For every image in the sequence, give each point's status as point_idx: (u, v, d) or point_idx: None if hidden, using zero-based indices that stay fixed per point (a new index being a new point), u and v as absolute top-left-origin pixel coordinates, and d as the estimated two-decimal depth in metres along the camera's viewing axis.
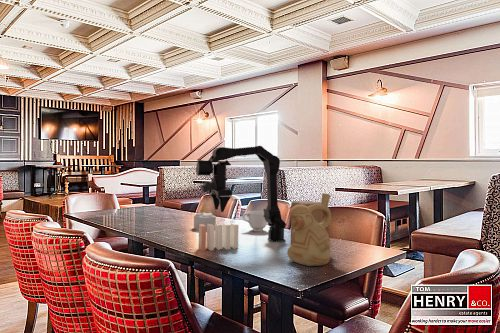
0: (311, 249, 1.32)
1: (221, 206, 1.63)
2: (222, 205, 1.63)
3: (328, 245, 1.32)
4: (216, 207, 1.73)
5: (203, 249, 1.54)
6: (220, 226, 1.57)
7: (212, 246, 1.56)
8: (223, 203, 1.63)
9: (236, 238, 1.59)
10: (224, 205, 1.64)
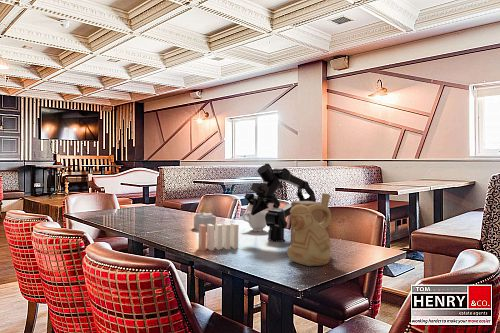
0: (311, 249, 1.32)
1: (255, 209, 1.68)
2: (256, 209, 1.68)
3: (328, 245, 1.32)
4: None
5: (203, 249, 1.54)
6: (220, 226, 1.57)
7: (212, 246, 1.56)
8: (258, 208, 1.69)
9: (236, 238, 1.59)
10: (258, 211, 1.69)
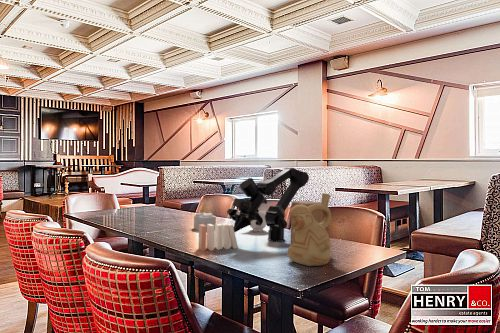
0: (311, 249, 1.32)
1: (237, 226, 1.61)
2: (238, 226, 1.61)
3: (328, 245, 1.32)
4: None
5: (203, 249, 1.54)
6: (220, 226, 1.57)
7: (212, 246, 1.56)
8: (241, 225, 1.62)
9: (234, 238, 1.59)
10: (240, 227, 1.62)
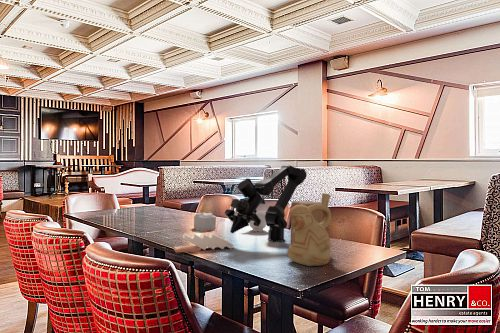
0: (311, 249, 1.32)
1: (235, 227, 1.60)
2: (236, 227, 1.61)
3: (328, 245, 1.32)
4: None
5: (199, 250, 1.54)
6: (195, 237, 1.54)
7: (203, 246, 1.55)
8: (238, 226, 1.61)
9: (224, 242, 1.58)
10: (238, 228, 1.61)
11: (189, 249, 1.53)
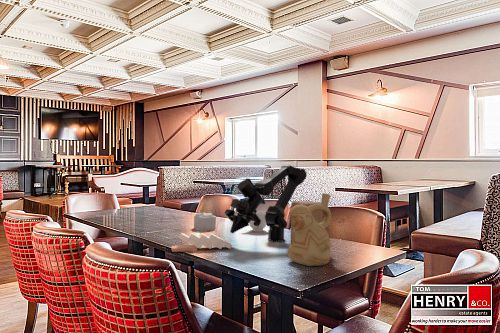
0: (311, 249, 1.32)
1: (235, 227, 1.60)
2: (236, 227, 1.61)
3: (328, 245, 1.32)
4: None
5: (195, 249, 1.54)
6: (191, 236, 1.55)
7: (198, 244, 1.55)
8: (238, 226, 1.61)
9: (222, 242, 1.57)
10: (238, 228, 1.61)
11: (185, 248, 1.53)
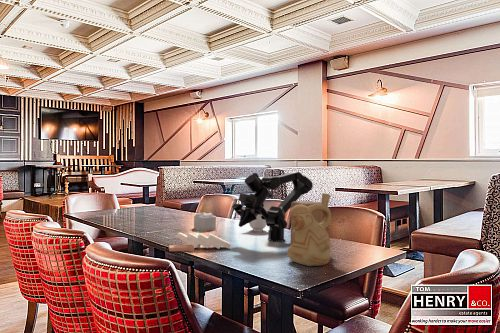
0: (311, 249, 1.32)
1: (243, 221, 1.63)
2: (244, 221, 1.64)
3: (328, 245, 1.32)
4: None
5: (193, 249, 1.54)
6: (188, 235, 1.57)
7: (194, 243, 1.56)
8: (246, 220, 1.64)
9: (221, 242, 1.57)
10: (246, 222, 1.64)
11: (183, 248, 1.54)
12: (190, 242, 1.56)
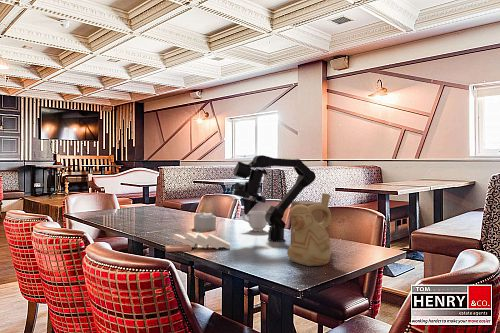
0: (311, 249, 1.32)
1: (244, 208, 1.74)
2: (245, 208, 1.74)
3: (328, 245, 1.32)
4: None
5: (190, 249, 1.54)
6: (186, 235, 1.58)
7: (191, 243, 1.56)
8: (246, 206, 1.73)
9: (220, 242, 1.57)
10: (246, 208, 1.73)
11: (180, 248, 1.53)
12: (186, 242, 1.57)
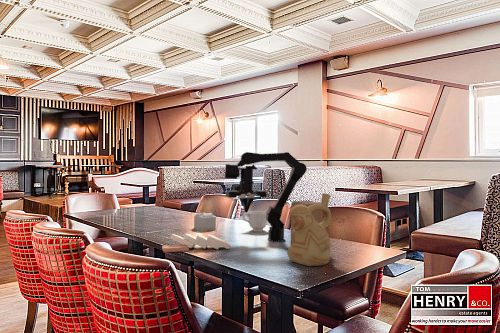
0: (311, 249, 1.32)
1: (243, 207, 1.78)
2: (244, 206, 1.77)
3: (328, 245, 1.32)
4: None
5: (187, 249, 1.54)
6: (185, 236, 1.57)
7: (189, 243, 1.56)
8: (243, 204, 1.77)
9: (220, 242, 1.57)
10: (244, 206, 1.76)
11: (177, 248, 1.53)
12: (185, 242, 1.56)
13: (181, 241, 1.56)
